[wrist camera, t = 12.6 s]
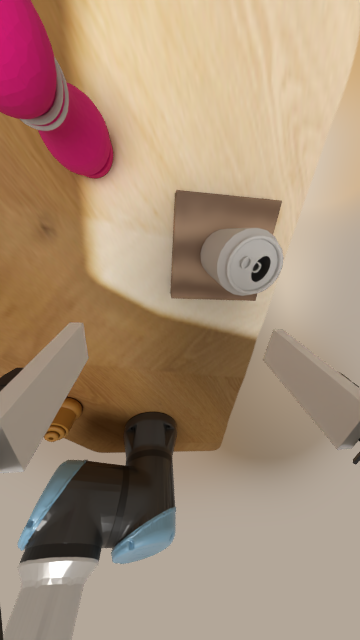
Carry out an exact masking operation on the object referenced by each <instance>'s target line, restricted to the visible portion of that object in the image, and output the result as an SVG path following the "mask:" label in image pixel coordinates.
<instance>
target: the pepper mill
mask: <svg viewBox="0 0 360 640" xmlns="http://www.w3.org/2000/svg"><path fill="white" fill-rule="evenodd" d="M0 112H2V113H4V114H6V115H8V116H11V117H14V118H18V119H20V120H21V121H23V122H24V123H25V124H27V125H28V126H30V127H32V128H35V129H37V130H38V131H39V134H40V136H41V138H42V140H43V141H44V143H45V145H46V146H47V148H48V150H49V151H50V152H51V154H52V155H53V156H54V157H55V158H56V159H57V160H58V161H59V162H60V163H61V164H62V165H63V166H64V167H66V168H67V169H68V170H70V171H72V172H74V173H77V174H80V175H84V176H86V177H89V178H100V177H102V176H104V175H106V174H107V173H108V171H109V170H110V168H111V165H112V162H113V148H112V144H111V141H110V139H109V134H108V129H107V126H106V124H105V121H104V119H103V117H102V115H101V113H100V112H99V110H98V109H97V107H96V106H95V105H94V103H93V102H92V101H91V100H90V98H89V97H87V96H86V95H85V94H84V93H83V92H82V91H80V90H79V89H78V88H76V87H75V86H73V85H71V84H69V83H67V82H66V80H65V77H64V75H63V72H62V70H61V68H60V65H59V64H58V62H57V60H56V59H55V57H54V54H53V50H52V47H51V43H50V41H49V38H48V36H47V33H46V30H45V28H44V25H43V23H42V21H41V19H40V17H39V15H38V13H37V12H36V10H35V8H34V6H33V4H32V2H31V0H0Z"/></svg>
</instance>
